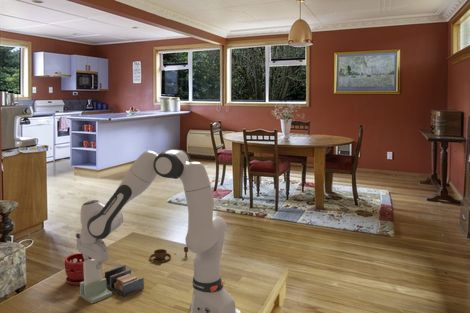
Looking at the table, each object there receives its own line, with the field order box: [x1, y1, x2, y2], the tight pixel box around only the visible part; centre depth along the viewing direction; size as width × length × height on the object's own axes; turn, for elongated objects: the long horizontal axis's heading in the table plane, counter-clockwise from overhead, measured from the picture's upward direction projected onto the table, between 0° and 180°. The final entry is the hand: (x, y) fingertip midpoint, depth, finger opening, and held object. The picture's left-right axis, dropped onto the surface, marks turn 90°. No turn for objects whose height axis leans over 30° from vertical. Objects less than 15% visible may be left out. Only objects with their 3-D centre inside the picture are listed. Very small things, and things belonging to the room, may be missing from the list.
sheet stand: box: [79, 277, 113, 304], centre depth 178 cm, size 10×10×6 cm
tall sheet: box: [83, 259, 104, 294], centre depth 178 cm, size 2×8×15 cm, turn 141°
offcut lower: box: [114, 282, 122, 291], centre depth 185 cm, size 7×9×2 cm
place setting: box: [149, 246, 189, 266], centre depth 220 cm, size 18×20×6 cm
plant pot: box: [64, 252, 92, 286], centre depth 192 cm, size 13×13×12 cm
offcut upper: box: [117, 273, 138, 285], centre depth 185 cm, size 6×7×2 cm
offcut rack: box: [104, 264, 145, 298], centre depth 186 cm, size 15×11×8 cm
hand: (92, 265), depth 178 cm, fingers open, 8 cm apart
